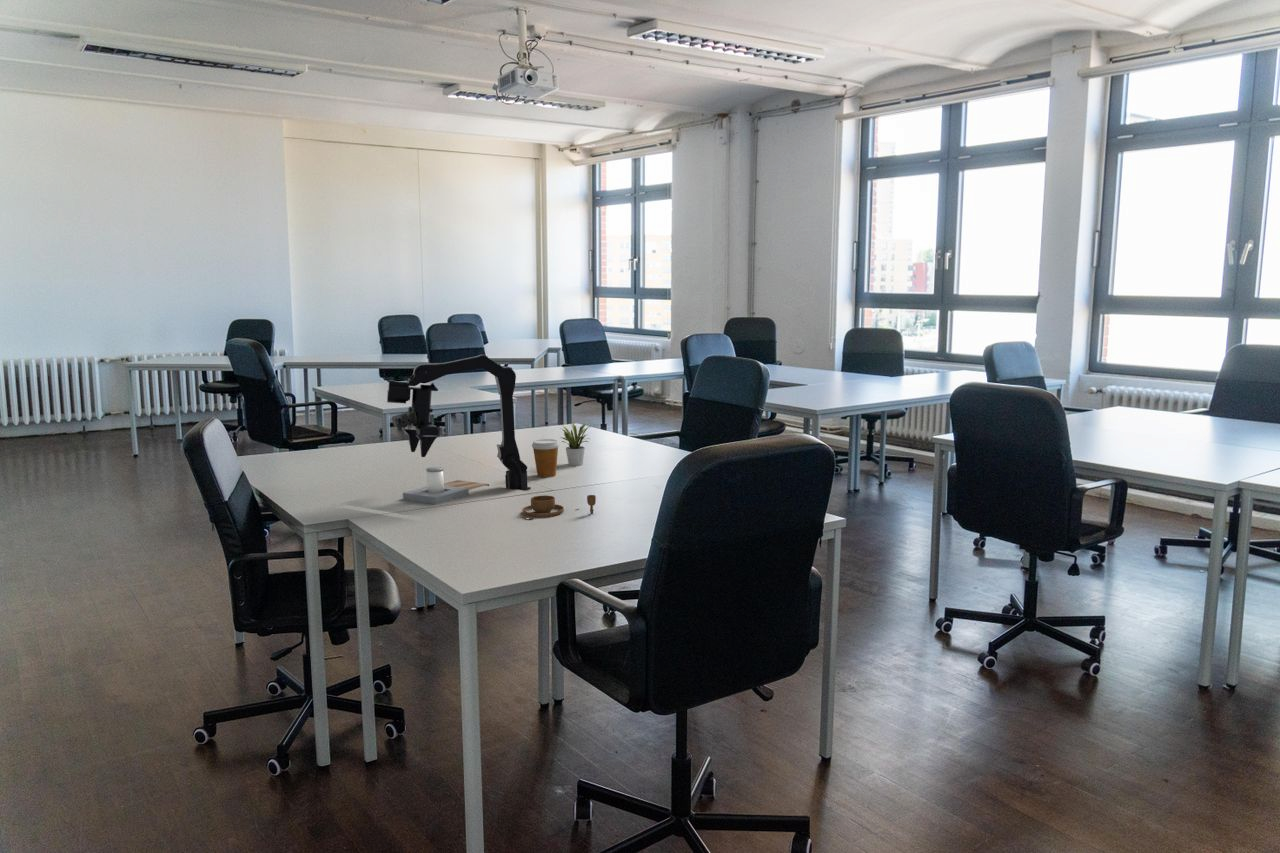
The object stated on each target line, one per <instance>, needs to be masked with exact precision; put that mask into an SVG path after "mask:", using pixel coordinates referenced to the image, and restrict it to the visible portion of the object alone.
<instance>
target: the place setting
mask: <svg viewBox="0 0 1280 853" xmlns="http://www.w3.org/2000/svg"><path fill="white" fill-rule="evenodd" d="M596 499H597V496H596V495H595V494H589V495H586V503H587V504H588V505H587V506H589V507H590V508H589V512H590V513H589V515H590V514H593V515H594V512H595V510H594V506H596V501H597V500H596ZM532 509H533V510H532ZM557 509H558V511H553V510H557ZM529 510H530V511H534V512H535V513H534V512H530V511H529ZM564 510H565V509H564V506H563V505H560V504H556V498H555V497H554V496H553V495H543V494H542V495H536V496H532V497H531V498H530V505H526V506H525V507H523V508H522V514H523V515H524V516H521V517H522V519H524V520H526V518H529V520H528V521H530V520H531V519H532V520H533V519H534V518H550V517H551V516H552V517H556V515H557V516H559V514H560V515H561V514H563V512H564ZM578 510H579V508H577V509H576V508H575V511H578ZM527 511H528V512H527ZM552 511H553V512H552ZM529 516H530V517H529ZM532 520H531V521H532Z"/></svg>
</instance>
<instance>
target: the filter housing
mask: <svg viewBox="0 0 1280 853" xmlns="http://www.w3.org/2000/svg"><path fill="white" fill-rule="evenodd" d="M469 492H470V490H469V489H468V488H460V487H453V486H446V485H444V492H441V493H438V494H433V493H428V489H427V486H424V487H420V488H416V489H413V490H409V491H405V492H404V491H403V492H402V499H403V500H404V499H406V500H405V501H411V502H417V503H419V502H420V503H424V504H432V505H440V504H442V503H446V502H450V501H452V500H456V499H459V498H460V499H461V498H463V497H467V496H469V495H470V493H469Z"/></svg>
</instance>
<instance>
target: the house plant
mask: <svg viewBox="0 0 1280 853" xmlns="http://www.w3.org/2000/svg"><path fill="white" fill-rule="evenodd" d="M587 424H589V422H585V423H583V424H582V425H581V426H580V427H579V429H578V430H577V426H576V425H575V424H574V422H572V423H571V424H570V426H571V430H570V431H569V429H568V428H567V427H566V426H564V425H562V424H560V426H561V427H563V428H560V429H561V430H562V431H563V435H564V437H559V438H560V439H563V441H561V443H565V444H567V445H568V446H566V447H565V451H566V452H565V453H566V457H567V462H568V466H572V465H577V466H583V464H584V458H585V450H586V449H585V448H586V447H585V446H583V445H581V444H583V443H585V442H587V443H589V441H588V440H591V438H590V437H587V438H586V436H587V435H589V434H588V433H586V431H587V430H588V429H589V428H591V427H593V426H596V424H594V425H590V426H588V427H586V425H587ZM585 427H586V428H585ZM585 433H586V434H585ZM586 439H587V440H586ZM564 440H565V441H564ZM566 441H567V442H566Z"/></svg>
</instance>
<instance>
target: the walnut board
mask: <svg viewBox="0 0 1280 853" xmlns="http://www.w3.org/2000/svg"><path fill="white" fill-rule="evenodd" d="M444 485H446V486H453V487H460V488H468V489H469V491H470V490H473V489H477V488H480V487H485V486H486V487H490V484H489V483H482V482H476V481H467V480H461V479H457V480H453V481H449V482H444Z"/></svg>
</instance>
